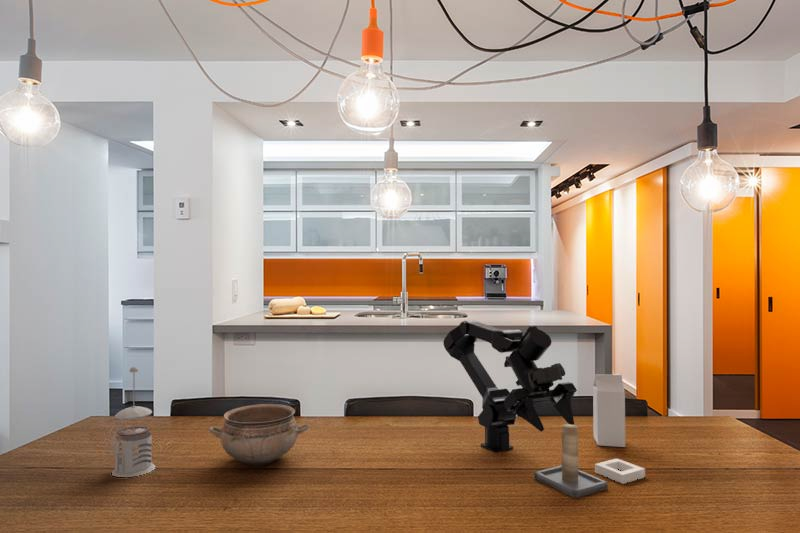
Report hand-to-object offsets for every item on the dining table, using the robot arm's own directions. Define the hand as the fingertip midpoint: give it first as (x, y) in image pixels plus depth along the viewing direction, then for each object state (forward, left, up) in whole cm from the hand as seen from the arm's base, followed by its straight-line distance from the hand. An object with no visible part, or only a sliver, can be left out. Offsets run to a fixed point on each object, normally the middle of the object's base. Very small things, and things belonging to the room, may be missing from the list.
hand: (558, 427), depth 120 cm
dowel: (+4, 0, -11) cm, 11 cm away
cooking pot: (-44, -58, -12) cm, 74 cm away
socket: (+6, +14, -11) cm, 19 cm away
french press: (-52, -87, -12) cm, 102 cm away
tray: (+4, 0, -11) cm, 12 cm away
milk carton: (-11, +31, -12) cm, 35 cm away
